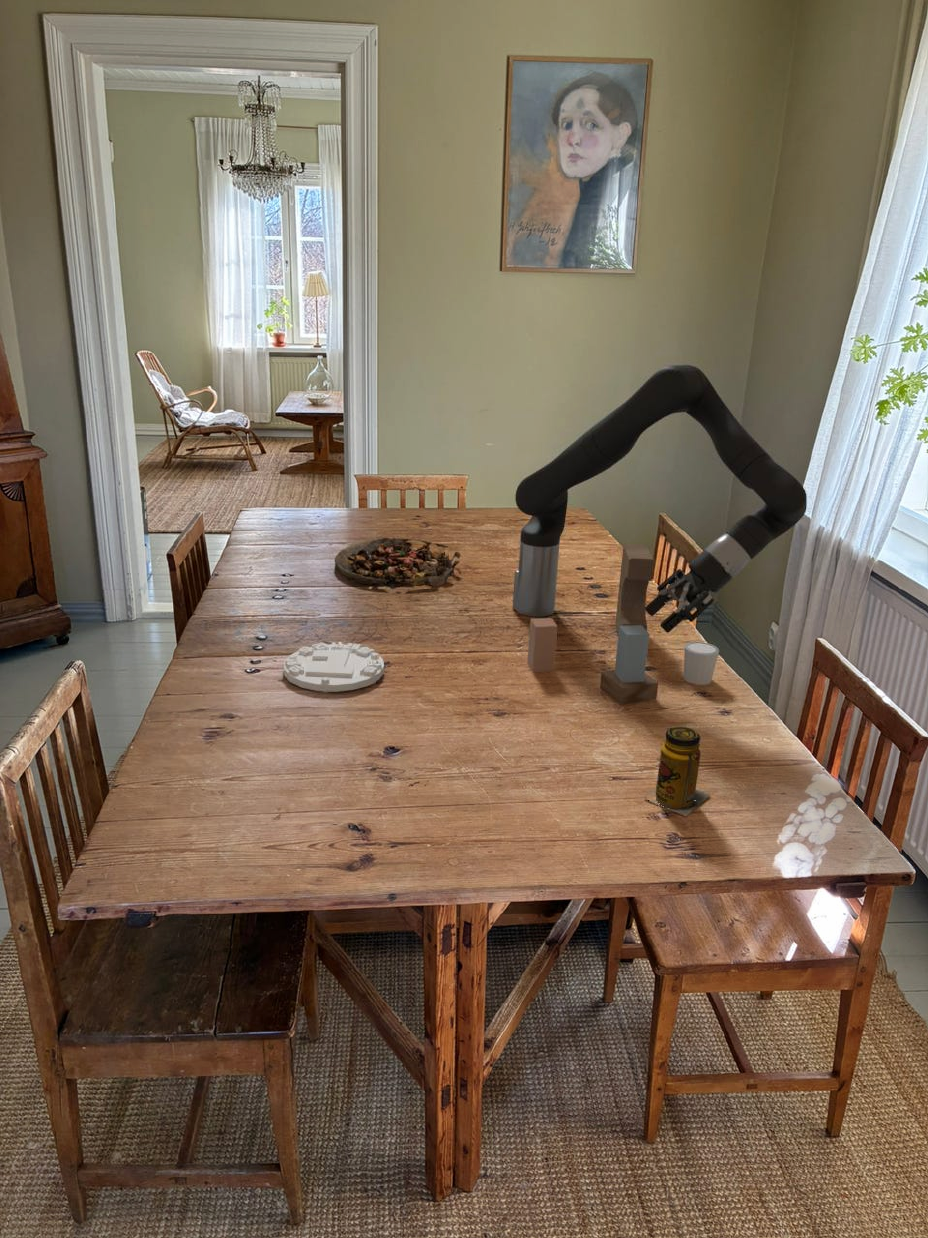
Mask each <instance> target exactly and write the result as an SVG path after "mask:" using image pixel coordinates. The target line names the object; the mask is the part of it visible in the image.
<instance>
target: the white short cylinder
mask: <svg viewBox="0 0 928 1238" xmlns="http://www.w3.org/2000/svg"><path fill="white" fill-rule="evenodd" d="M683 651H684V652H683V653H684V654H683V655H684V656H683V677H682V678H683V680H684V681H686V682H687V683H690V684H692V685H698V686H703V685H704V686H706V685H709V684H710V683H712V680H713V677H714V672H715V668H716V665H717V661H718V656H719V654H720V650H719V648H718V647H717V646H716V645H714V644H712V643H708V642H704V641H691V642H687V643H685V644H684V648H683Z"/></svg>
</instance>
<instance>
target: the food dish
mask: <svg viewBox="0 0 928 1238" xmlns="http://www.w3.org/2000/svg"><path fill="white" fill-rule="evenodd" d="M410 541H412V539H409V538H401V537H394V538H389V537H386V536H385V537H381V538H376V539H372V540H367V541H362V542H359V543H356V544H353V545H349V546H347V547H346V548H343V549H341V550H340V551H339V552H338V553H337V554H336V556H335V558H334V570H335V571H336V572H338V574H339V575H342V576H345V577H346V578H348V580H351V581H355V582H356V583H358V584H364V585H372V586H373V585H374V586H380V587H382V586H387V587H388V588H399V587H410V586H426V585H427V586H431V587H439V586H442V585H443V584H445V583H446V582H447V580H448V578H450V577H451V576H453V577H454V576H455V567H457V565H458V564H459V563H460V560H455V561H454V562H453V563H452V561H453V560H454V558H455V557H456V558H457V559H459V558H461V556H462V555H461V553H460V552H459V551H455V552H454V554H453V556H452V558H451V559H450V555H449V553H447V554H446V551H442V550H438V551H437V550H436V551H433V552H432V551H431V547H430V546H431V545H435V546H437V547H439V548H440V547H441V548H449V546H448V545H447V544H442V543H438V542H434V543H433V542H431V541H428V540H424V539H423V540H422V539H414V541H417V542H421V543H424V544H423V545H422V546H421V547H418V546H417V545H416V546H415V545H413V543H412V542H410Z"/></svg>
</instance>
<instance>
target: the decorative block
mask: <svg viewBox="0 0 928 1238" xmlns="http://www.w3.org/2000/svg"><path fill="white" fill-rule="evenodd" d="M655 564H656V560H655V558H654V556H653V555H652V552H651V550H650V548H649V547H648V546H647V545H646V544H643V545H641V544H624V545H623V548H622V557H621V567H620V575H619V584H618V595H617V602H616V604H617V605H616V613H615V622H614V623H615V624H614V626H615V627H614V628H615V630H616V633H617V635H618V634H619V626H632V625H642V626H643V627H644V628H645V630H646V631H647V630H648V624H647V616H646V613H647V611H646V610H645V607H646V606H647V605H646V604H647V602H646V601H647V591H648V586H649V583H650V582H652V581H653V580H654V573H655V566H656V565H655ZM647 632H648V631H647Z"/></svg>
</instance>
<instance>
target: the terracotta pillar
mask: <svg viewBox="0 0 928 1238" xmlns="http://www.w3.org/2000/svg"><path fill="white" fill-rule="evenodd" d="M529 621H530V622H529V633H528V635H529V636H528V648H527V649H528V651H527V665H528V667H529V668H530V671H531V672H532V673H537V672H538V673H541V672H542V673H544V672H546V673H547V672H554V671H555V660H556V650H557V649H556V647H557V635H558V625H557V624H556V622H555V621H554V620H553V618H552V617H547V618H544V617H543V618H541V617H540V618H530V620H529Z"/></svg>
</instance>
